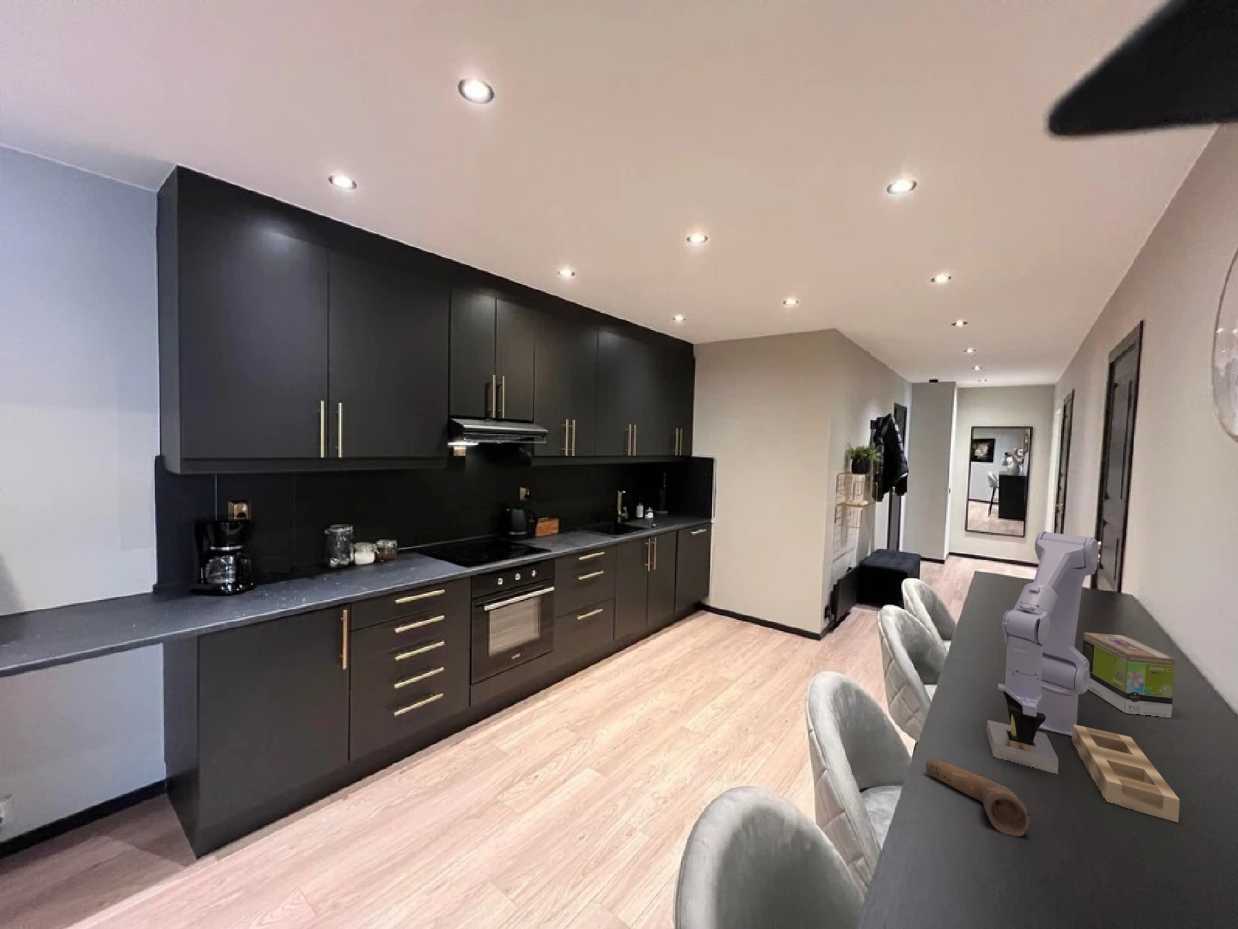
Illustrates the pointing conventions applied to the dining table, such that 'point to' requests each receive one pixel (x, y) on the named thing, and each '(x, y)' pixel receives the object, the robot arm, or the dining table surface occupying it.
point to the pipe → (985, 796)
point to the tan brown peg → (1013, 730)
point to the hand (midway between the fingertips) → (1020, 733)
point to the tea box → (1130, 674)
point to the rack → (1125, 773)
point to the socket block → (1022, 748)
